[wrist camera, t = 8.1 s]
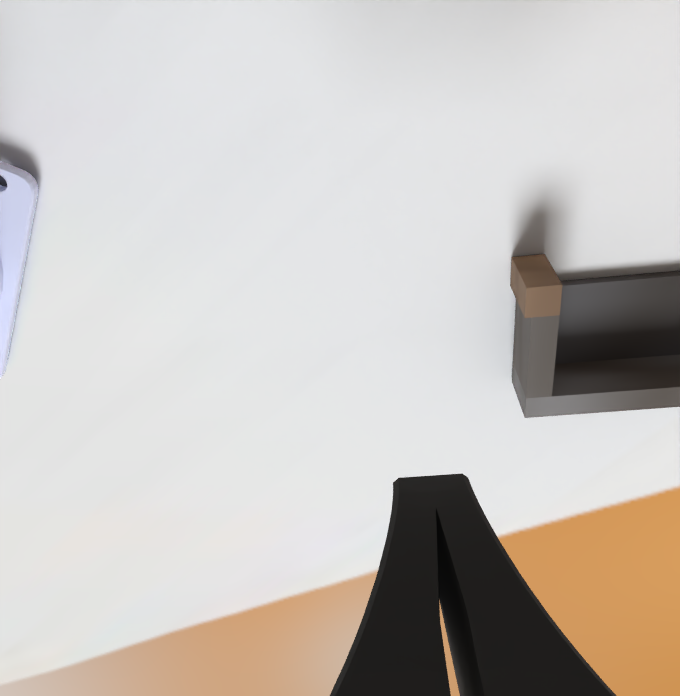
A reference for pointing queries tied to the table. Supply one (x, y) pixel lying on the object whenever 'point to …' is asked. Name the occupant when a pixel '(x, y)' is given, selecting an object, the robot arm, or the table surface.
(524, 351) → the trap box
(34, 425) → the table surface
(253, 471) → the table surface
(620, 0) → the table surface
